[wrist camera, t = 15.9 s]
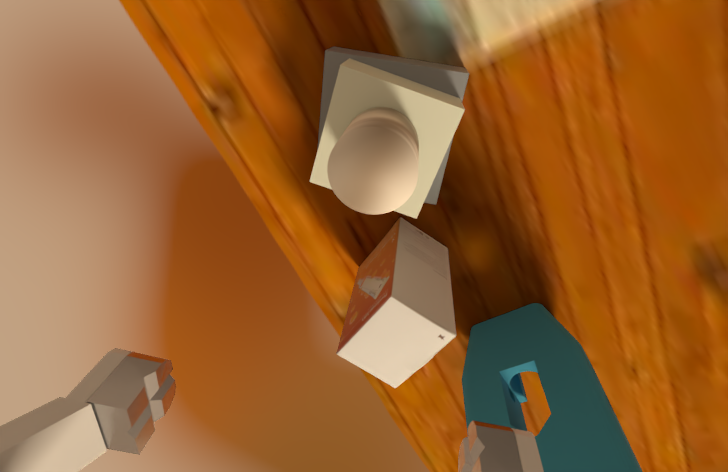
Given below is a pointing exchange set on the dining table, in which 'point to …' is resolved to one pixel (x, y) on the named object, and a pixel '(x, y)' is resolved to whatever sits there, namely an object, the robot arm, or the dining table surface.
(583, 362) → the block
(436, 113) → the tower top
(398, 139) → the beige rounded cylinder
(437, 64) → the tower base
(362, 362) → the small box
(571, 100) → the dining table surface
